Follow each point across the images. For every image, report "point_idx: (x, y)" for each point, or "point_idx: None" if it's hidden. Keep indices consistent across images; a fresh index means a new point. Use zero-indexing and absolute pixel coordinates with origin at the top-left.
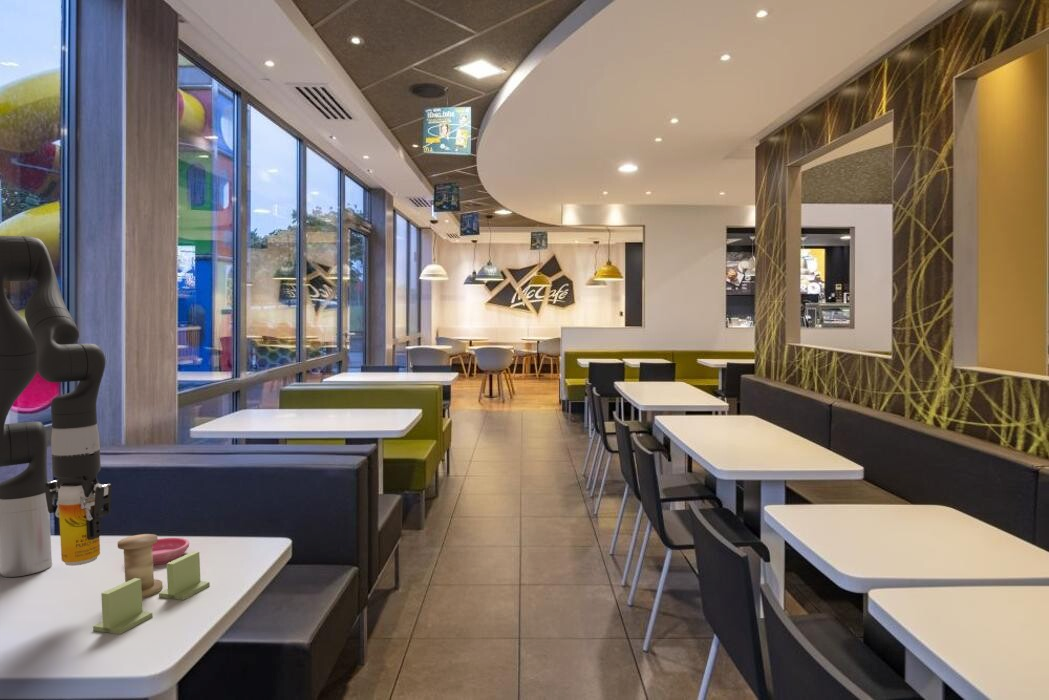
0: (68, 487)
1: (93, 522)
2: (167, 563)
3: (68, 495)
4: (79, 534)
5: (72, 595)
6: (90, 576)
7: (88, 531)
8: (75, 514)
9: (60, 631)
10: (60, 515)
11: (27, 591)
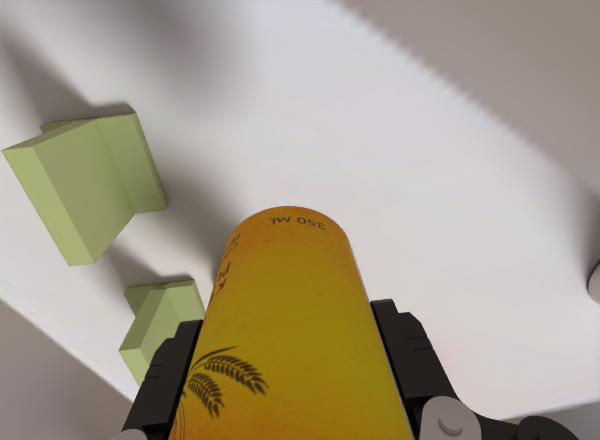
0: None
1: (130, 421)
2: (138, 349)
3: None
4: (206, 321)
5: (399, 222)
6: (451, 293)
7: (173, 354)
8: None
9: (214, 76)
10: (325, 415)
11: (534, 200)
